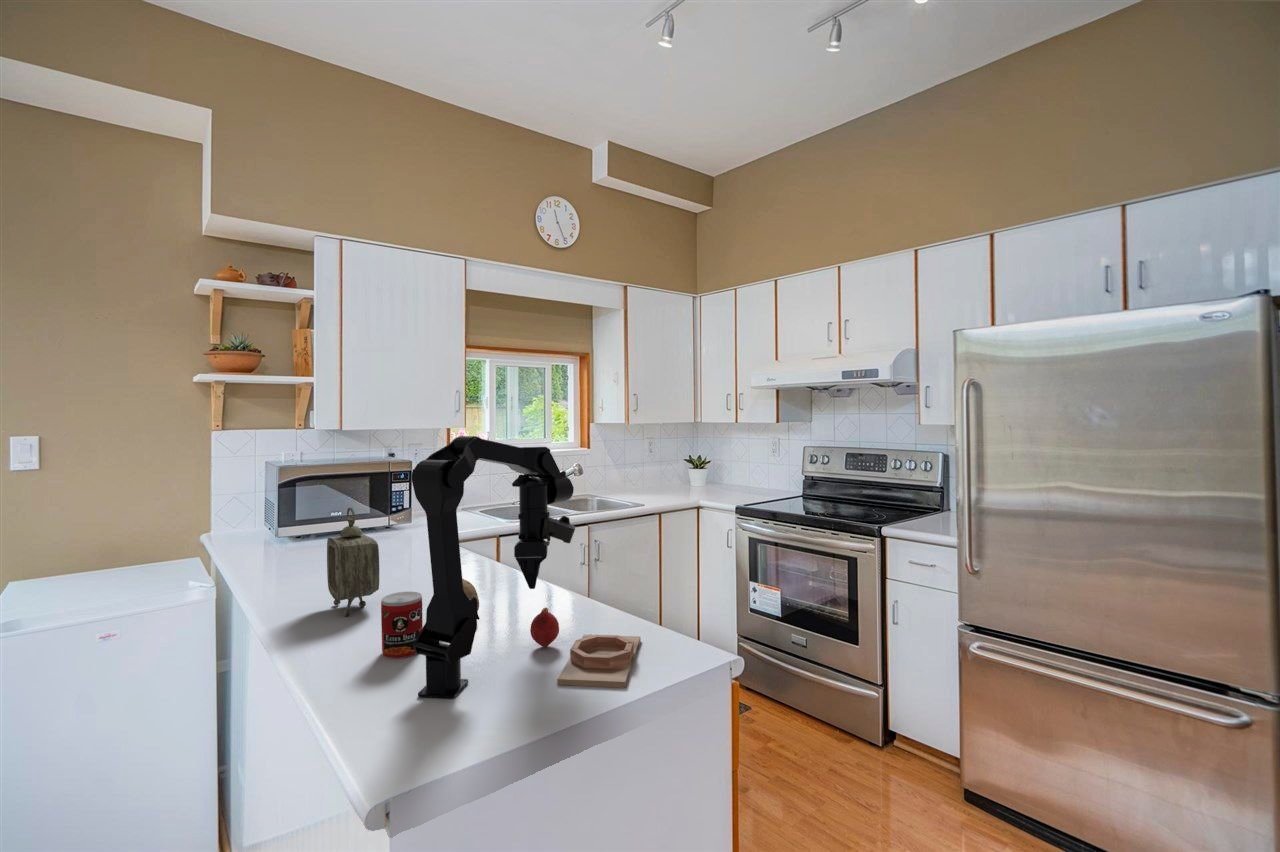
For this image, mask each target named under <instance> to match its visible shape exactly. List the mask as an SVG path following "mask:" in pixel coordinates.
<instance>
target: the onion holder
mask: <svg viewBox="0 0 1280 852" xmlns="http://www.w3.org/2000/svg"><path fill="white" fill-rule="evenodd" d="M641 641H642V640H641V636H635V635H633V636H632V635H618V634H617V635H616V634H614V635H613V634H583V635H582V637H581V638H579V639H576V640H575V641H574V643H573V644H572V646H571V647H570V649H569V651H570V652H569V655H570V657H569V658H568V660H567V662H566V663H565V665H564V667H563V669H562V671H561V672H560V674H559V675H558V677H557V679H556V681H557V682H556V684H560V686H578V687H581V686H582V687H600V688H620V689H621V688H623V689H624V688H626V686H627V683H628V681H629V677H630V674H631V672H632V671H631V670H632V669H633V665H634V663H635V659H636V657H637V653H638V649H639V647H640V643H641Z"/></svg>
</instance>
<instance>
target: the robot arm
mask: <svg viewBox="0 0 1280 852" xmlns="http://www.w3.org/2000/svg"><path fill="white" fill-rule="evenodd" d="M477 461H482V462H488V463H493V464H500V465H504V466H506V467H508V468H509V469H510V470H511V471H514V472H516V473H518V474H519V475H518V477H517V478H516V479H515V480H514V481H513V482H511V486H512V487H517V488H518V490H519V495H518V496H519V499H518V500H519V503H518V504H519V508H518V509H519V512H518V515H517V516H518V520H519V533H518V541H517V542H516V544H515V545H514V548H513V550H514V551H513V552H514V553H513V555H514V556H513V557H514V558H515V561H516V562H517V564H518V566H519V568H520V570H521V573H522V575H523V576H524V577H523V578H524V580H525V581H526V584H527V587H528V588H529V590H535V589H536V585H537V579H538V578H539V573H540V567H541V563H542V562H543V561H544V560H546V559H547V557H548V549H549V548H548V547H549V546H550V543H551V542H550V541H551V538H554V539H557V540H560V541H562V542H563V543H565V544H571V541H572V539H573V537H574V536H573V535H574V533H575V531H576V526H575V525H574V524H571V522H570V521H571V520H570V517H568V516H566V515H561V517H560V518H559V519H558V518H552V517H550V511H549V509H548V505H552V504H556V503H557V504H558V503H562V502H563V503H564V502H567V501H569V500H571V498H572V496H573V494H574V486H573V485H574V484H573V482H572V481H571V479H570V478H569V477H568V476H567V474H566V473H567V472H566V470H560V468H559V466H558V464H557V462H556V461H555V458H554V457H553V454H552V453H551V449H550V448H549V447H547V446H534V445H533V446H528V445H526V446H525V445H521V446H519V445H517V446H516V445H511V444H506V443H501V442H497V441H493V440H489V439H484V438H481V437H480V436H477V435H474V436H473V435H459V436H458V437H455V438H453V440H451V442H449V444H447V445H446V446H443V447H442V448H440V449H438V450H436V451H434V452H433V453H431V454H430V455H428V457H427V458H425V459H423V460H421V461H419V462H418V463H417V464H416V466H415V467H414V468H413V469H412V472H411V483H412V487H413V492H414V496H415V499H416V500H417V502H418V504H419V505H420V506H421V508H422V509H423V511H424V512H425V515H426V516H425V517H426V526H427V535H428V547H429V556H430V557H429V558H430V568H431V569H430V570H431V577H432V588H433V595H432V597H431V599H430V601H429V603H428V605H427V608H426V613H425V614H426V616H425V619H426V620H425V623H424V625H423V628H422V630H421V631H420V633H419V635H418V636H417V638H416V640H415V641H414V643H413V647H414V650H415V653H416V654H415V655H421V656H425V684H426V685H425V686H423V688H422V689H420V690H419V691H418V693H417V697H418V698H419V697H421V698H441V699H453V698H454V699H455V697H457V696H458V694H460V692H461V691H462V690H463V689H464V688H465V687H466V686H467V685H468V684H469V679H467V678H462V676H461V675H462V673H461V672H462V668H461V667H462V665H461V663H462V661H461V659H463V658H465V657H467V656H469V655H471V653H472V649H473V645H474V640H475V637H476V632H477V628H478V620H480V616H479V613H478V612H479V611H478V612H477V599H476V597H472V596H467V595H466V593H465V592H464V589H463V580H462V579H463V572H462V571H463V570H462V569H463V568H462V560H461V558H462V557H461V548H460V538H459V527H458V526H459V525H458V513H457V512H458V511H457V510H458V508H459V505H460V504H461V500H462V499H463V497H464V493H465V492H464V491H465V481H466V480H467V479H468V478H469V477H470V476H472V474H473V473H474V472H475V468H476V464H477ZM447 643H448V644H447Z"/></svg>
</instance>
